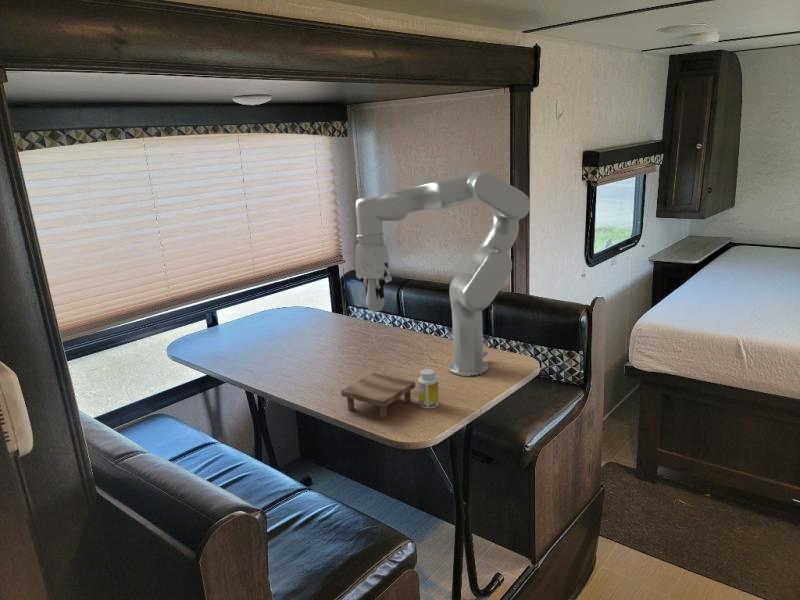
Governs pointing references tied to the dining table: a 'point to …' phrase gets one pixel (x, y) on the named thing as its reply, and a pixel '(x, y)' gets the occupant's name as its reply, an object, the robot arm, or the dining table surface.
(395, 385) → the small wooden table
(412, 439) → the dining table surface
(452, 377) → the dining table surface
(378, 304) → the salt shaker
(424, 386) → the supplement bottle
